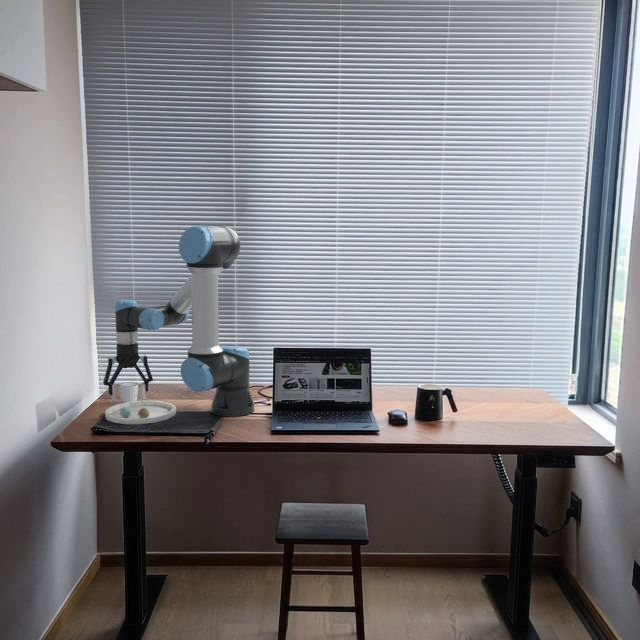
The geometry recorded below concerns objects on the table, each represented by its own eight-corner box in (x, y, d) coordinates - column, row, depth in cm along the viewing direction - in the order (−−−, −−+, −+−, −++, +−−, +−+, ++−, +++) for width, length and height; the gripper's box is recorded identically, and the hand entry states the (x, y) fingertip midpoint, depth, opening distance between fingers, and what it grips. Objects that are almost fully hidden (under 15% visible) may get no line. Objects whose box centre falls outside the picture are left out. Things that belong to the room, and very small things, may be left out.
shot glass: (139, 404, 233) (139, 385, 232) (120, 405, 230) (119, 387, 229) (137, 399, 239) (137, 381, 238) (118, 401, 237) (118, 382, 236)
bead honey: (148, 416, 214) (148, 406, 214) (150, 419, 211) (149, 409, 211) (137, 417, 213) (137, 407, 212) (139, 420, 210) (139, 410, 209)
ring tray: (168, 404, 232) (167, 398, 232) (182, 422, 212) (182, 414, 211) (101, 411, 223) (101, 404, 222) (110, 430, 202) (109, 422, 202)
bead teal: (130, 415, 215) (129, 405, 215) (131, 418, 212) (131, 407, 212) (119, 416, 214) (119, 406, 213) (120, 419, 211) (120, 408, 210)
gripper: (156, 339, 240) (158, 396, 243) (93, 342, 230) (95, 402, 233) (160, 342, 233) (162, 401, 236) (95, 346, 224) (97, 407, 227)
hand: (129, 401), depth 235 cm, fingers open, 10 cm apart
